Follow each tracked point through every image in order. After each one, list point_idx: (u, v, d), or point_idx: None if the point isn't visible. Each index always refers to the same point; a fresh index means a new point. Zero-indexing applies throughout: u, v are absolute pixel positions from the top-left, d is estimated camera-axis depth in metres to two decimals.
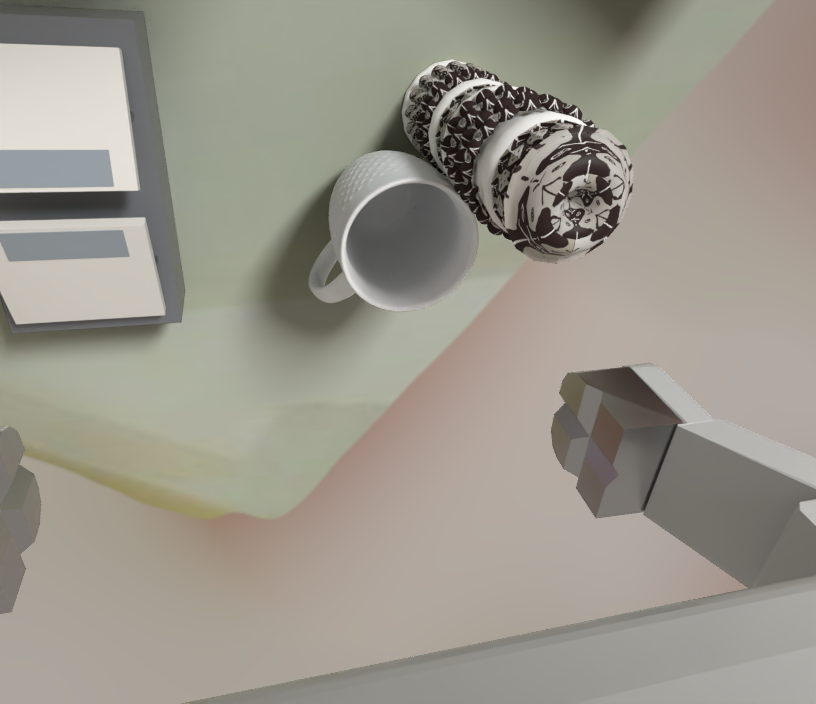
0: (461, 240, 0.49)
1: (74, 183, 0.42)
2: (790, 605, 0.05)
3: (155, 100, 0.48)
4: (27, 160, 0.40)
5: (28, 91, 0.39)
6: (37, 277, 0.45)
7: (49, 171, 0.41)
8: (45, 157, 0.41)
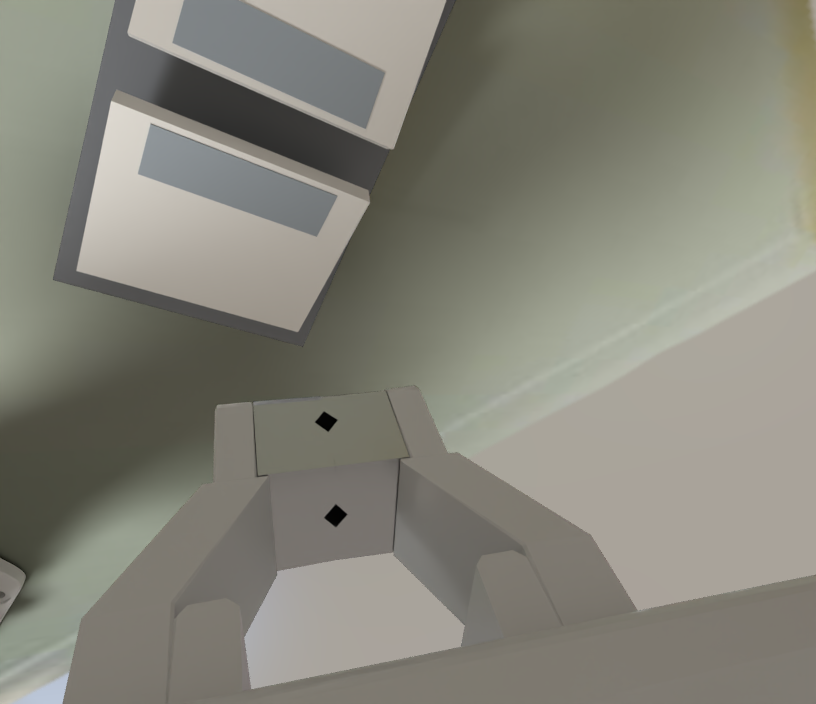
0: None
1: (211, 153, 0.25)
2: (790, 606, 0.05)
3: None
4: (260, 203, 0.27)
5: (216, 266, 0.30)
6: (369, 17, 0.25)
7: (240, 179, 0.26)
8: (234, 198, 0.27)
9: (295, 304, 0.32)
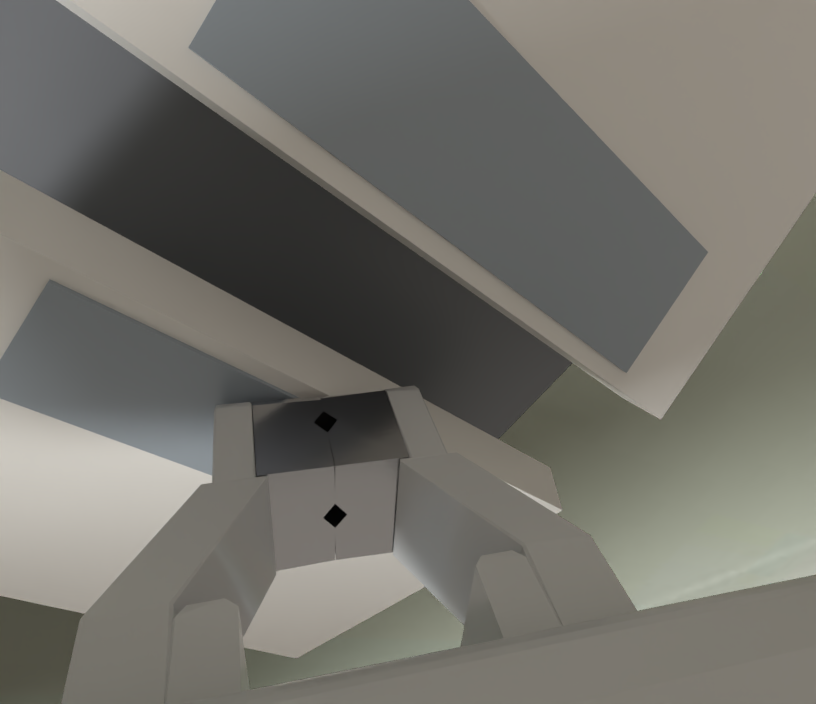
0: None
1: (225, 376, 0.09)
2: (790, 605, 0.05)
3: None
4: None
5: None
6: (724, 114, 0.09)
7: None
8: None
9: (310, 627, 0.15)
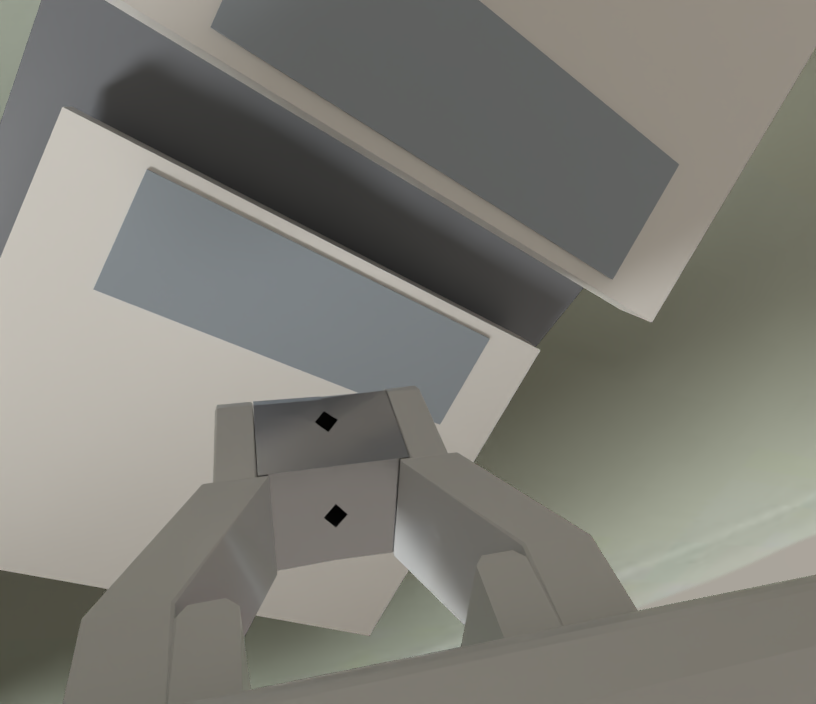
0: None
1: (268, 242, 0.12)
2: (790, 605, 0.05)
3: None
4: (347, 356, 0.13)
5: None
6: (680, 37, 0.11)
7: (314, 304, 0.13)
8: (298, 345, 0.13)
9: (375, 573, 0.16)
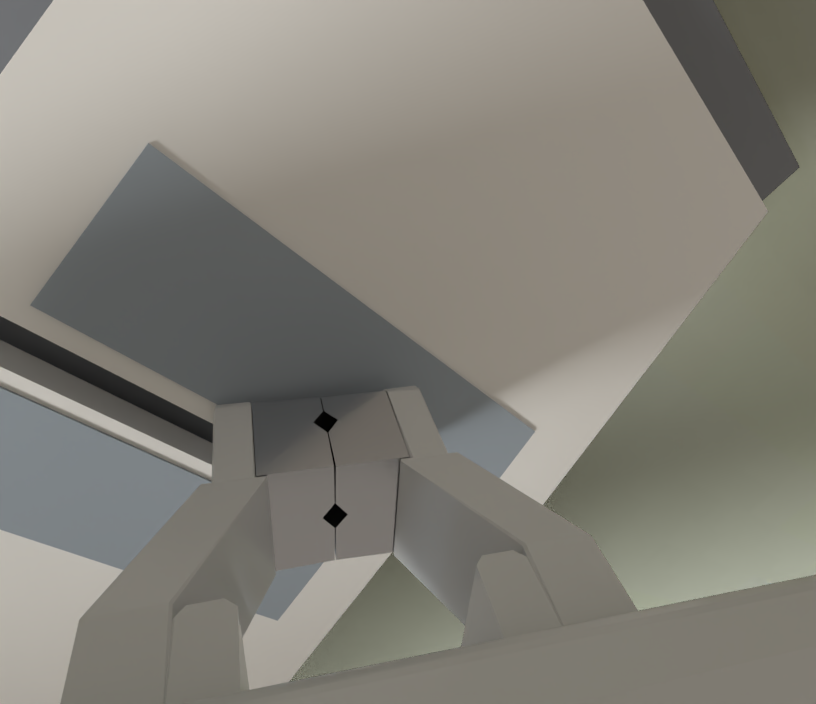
0: None
1: (104, 446, 0.11)
2: (790, 605, 0.05)
3: None
4: None
5: None
6: (546, 323, 0.11)
7: (150, 505, 0.12)
8: (125, 546, 0.12)
9: None
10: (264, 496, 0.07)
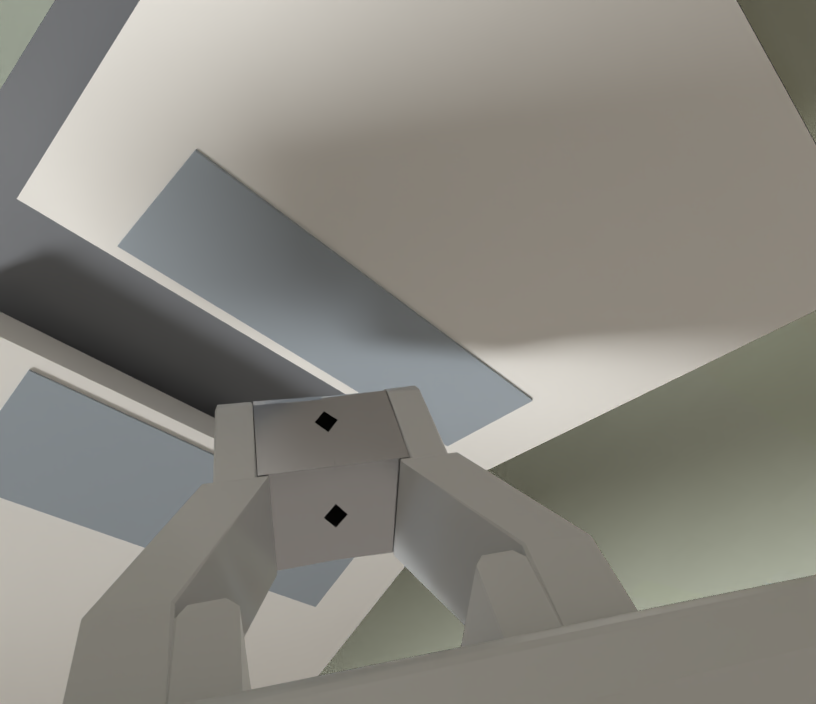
0: None
1: (154, 440, 0.12)
2: (790, 605, 0.05)
3: None
4: None
5: None
6: (561, 327, 0.11)
7: None
8: None
9: None
10: (266, 496, 0.07)
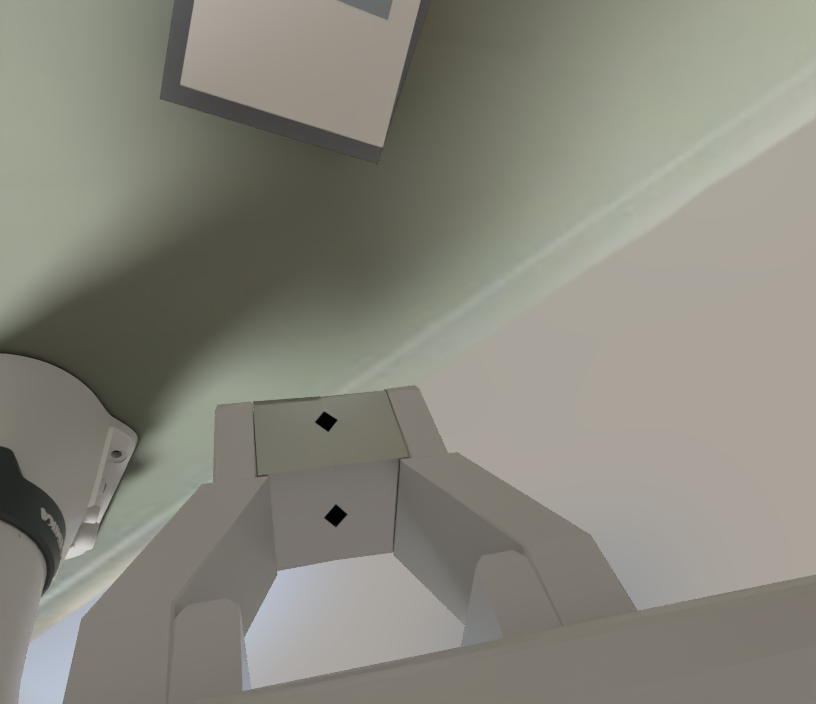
0: None
1: None
2: (791, 605, 0.05)
3: None
4: None
5: (304, 66, 0.32)
6: None
7: None
8: None
9: (377, 108, 0.34)
10: (266, 496, 0.07)
